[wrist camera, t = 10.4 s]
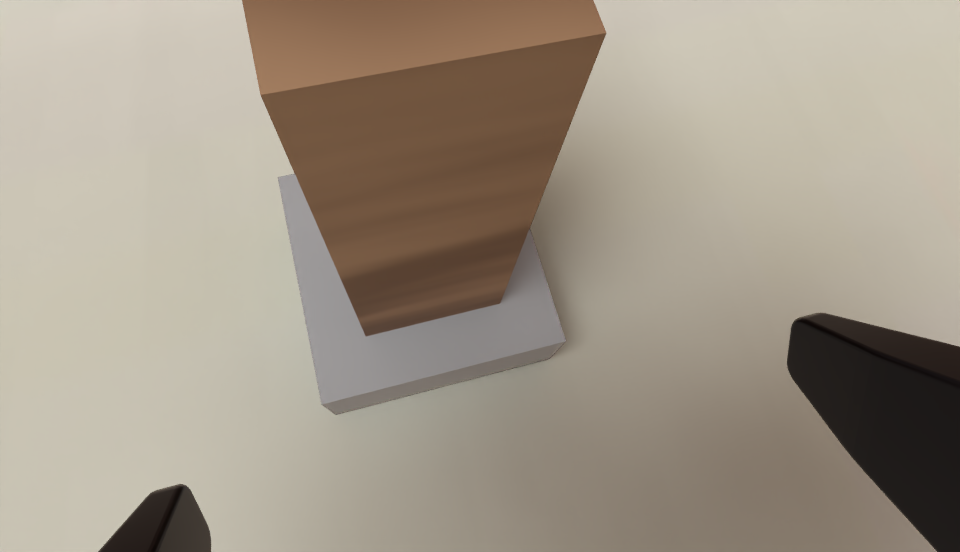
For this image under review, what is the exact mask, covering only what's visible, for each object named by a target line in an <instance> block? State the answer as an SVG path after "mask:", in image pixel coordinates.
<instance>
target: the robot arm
mask: <svg viewBox="0 0 960 552" xmlns="http://www.w3.org/2000/svg"><path fill="white" fill-rule="evenodd" d="M787 366H788V370H789V373H790V375H791V377H792V379H793V380H794V381H795V383H796V384H797V385H798V387H799V388H800V389H801V391H802V392H803V393H804V395H805V396H806V397H807V399H808V400H809V401H810V403H811V404H812V405H813V407H814V408H815V409H816V411H817V412H818V413H819V415H820V416H821V417H822V419H823V420H824V421H825V423H826V424H827V425H828V427H829V428H830V429H831V431H832V432H833V433H834V435H835V436H836V437H837V439H838V440H839V441H840V443H841V444H842V445H843V447H844V448H845V449H846V450H847V452H848V453H849V454H850V455H851V457H852V458H853V459H854V460H855V461H856V462H857V464H858V465H859V466H860V467H861V468H862V469H863V471H864V472H865V473H866V474H867V475H868V476H869V477H870V478H871V479H872V480H873V482H874V483H875V484H876V485H877V486H878V487H879V488H880V489H881V490H882V491H883V493H884V494H885V495H886V496H887V497H888V498H889V499H890V500H891V501H892V502H893V504H894V505H895V506H896V507H897V508H898V509H899V510H900V511H901V512H902V513H903V515H904V516H905V517H906V518H907V519H908V520H909V521H910V522H911V523H912V524H913V525H914V527H915V528H916V529H917V530H918V531H919V532H920V533H921V534H922V535H923V536H924V538H925V539H926V540H927V541H928V542H929V543H930V544H931V545H932V546H933V547H934V549H935V550H936V551H937V552H960V347H959V346H955V345H951V344H947V343H943V342H939V341H935V340H931V339H927V338H923V337H919V336H915V335H911V334H907V333H903V332H898V331H894V330H890V329H886V328H882V327H878V326H874V325H870V324H866V323H862V322H858V321H854V320H850V319H846V318H842V317H838V316H834V315H830V314H826V313H815V314H811V315H807V316H804V317H800V318H798V319H796V320H795V321H794V322H793V324H792V327H791V333H790V341H789V349H788V357H787ZM98 552H211V536H210V531H209V528H208V525H207V523H206V521H205V519H204V516H203V514H202V512H201V510H200V508H199V506H198V504H197V502H196V500H195V498H194V496H193V494H192V492H191V490H190V489H189V488H188V487H187V486H186V485H183V484H178V485H174V486H171V487H167V488H163V489H159V490H156V491H154V492H152V493H150V494H149V495H148V496H147V497H146V498H145V500H144V501H143V502H142V503H141V504H140V505H139V506H138V507H137V509H136V510H135V511H134V512H133V513H132V514H131V515H130V516H129V518H128V519H127V520H126V521H125V522H124V523H123V524H122V525H121V527H120V528H119V529H118V530H117V531H116V532H115V533H114V535H113V536H112V537H111V538H110V539H109V540H108V541H107V542H106V544H105V545H104V546H103V547H102V548H101V549H100V550H99V551H98Z"/></svg>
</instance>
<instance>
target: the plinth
mask: <svg viewBox="0 0 960 552" xmlns="http://www.w3.org/2000/svg"><path fill="white" fill-rule="evenodd" d="M278 181H279V186H280V192H281V197H282V202H283V207H284V212H285V217H286V223H287V228H288V233H289V238H290V243H291V248H292V254H293V259H294V264H295V269H296V274H297V279H298V284H299V290H300V295H301V300H302V305H303V310H304V315H305V321H306V326H307V331H308V336H309V341H310V346H311V352H312V357H313V362H314V367H315V372H316V377H317V383H318V388H319V393H320V398H321V403H322V405H323V406H324V407H326V408H327V409H329V410H330V411H331V412H333V413H334V414H335V415H337V414H341V413H344V412H348V411H352V410H356V409H360V408H363V407H367V406H371V405H375V404H379V403H382V402H386V401H390V400H394V399H398V398H402V397H405V396H409V395H413V394H417V393H421V392H424V391H428V390H432V389H436V388H440V387H443V386H447V385H451V384H455V383H459V382H462V381H466V380H470V379H474V378H478V377H482V376H485V375H489V374H493V373H497V372H501V371H504V370H508V369H512V368H516V367H520V366H523V365H527V364H531V363H535V362H539V361H542V360H546V359H549V358H550V357H551V356H552V355H553V354H554V353H555V352H556V351H557V350H558V349H559V348H560V347H561V346H562V345H563V344H564V343H565V342H566V339H565V336H564V333H563V330H562V327H561V324H560V321H559V318H558V314H557V311H556V308H555V305H554V302H553V299H552V296H551V293H550V289H549V286H548V283H547V280H546V277H545V274H544V271H543V268H542V264H541V261H540V258H539V255H538V252H537V249H536V246H535V242H534V239H533V236H532V233H531V230H530V229H529V231H528V234H527V236H526V239H525V241H524V244H523V246H522V249H521V252H520V254H519V257H518V259H517V262H516V264H515V267H514V269H513V272H512V274H511V277H510V280H509V282H508V285H507V287H506V290H505V292H504V295H503V297H502V300H501V302H500V304H496V305H492V306H488V307H484V308H480V309H476V310H472V311H468V312H464V313H460V314H456V315H452V316H448V317H443V318H439V319H435V320H431V321H427V322H423V323H419V324H415V325H411V326H407V327H403V328H399V329H395V330H391V331H387V332H383V333H378V334H374V335H370V336H365V334H364V331H363V329H362V327H361V325H360V322H359V320H358V318H357V315H356V313H355V311H354V308H353V306H352V304H351V302H350V299H349V297H348V295H347V292H346V290H345V288H344V285H343V283H342V281H341V279H340V276H339V274H338V272H337V269H336V267H335V265H334V263H333V260H332V258H331V256H330V253H329V251H328V249H327V246H326V244H325V242H324V240H323V237H322V235H321V233H320V230H319V228H318V226H317V223H316V221H315V219H314V217H313V214H312V212H311V210H310V207H309V205H308V203H307V200H306V198H305V196H304V194H303V191H302V189H301V187H300V184H299V182H298V180H297V177H296V175H295V174H291V175H286V176H281V177H278Z"/></svg>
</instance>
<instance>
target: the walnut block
mask: <svg viewBox="0 0 960 552" xmlns="http://www.w3.org/2000/svg"><path fill="white" fill-rule="evenodd" d="M242 2H243V7H244V12H245V17H246V22H247V28H248V33H249V38H250V43H251V48H252V53H253V58H254V63H255V69H256V74H257V79H258V84H259V89H260V94H261V97H262V99H263V102H264V104H265V106H266V108H267V111H268V113H269V115H270V118H271V120H272V122H273V125H274V127H275V129H276V131H277V134H278V136H279V138H280V141H281V143H282V145H283V148H284V150H285V152H286V154H287V157H288V159H289V161H290V164H291V166H292V168H293V171H294V173H295V175H296V177H297V180H298V182H299V184H300V187H301V189H302V191H303V194H304V196H305V198H306V200H307V203H308V205H309V207H310V210H311V212H312V214H313V217H314V219H315V221H316V223H317V226H318V228H319V230H320V233H321V235H322V237H323V240H324V242H325V244H326V246H327V249H328V251H329V253H330V256H331V258H332V260H333V263H334V265H335V267H336V269H337V272H338V274H339V276H340V279H341V281H342V283H343V285H344V288H345V290H346V292H347V295H348V297H349V299H350V302H351V304H352V306H353V308H354V311H355V313H356V315H357V318H358V320H359V322H360V325H361V327H362V329H363V331H364V334H365V336H370V335H374V334H378V333H383V332H387V331H391V330H395V329H399V328H403V327H407V326H411V325H415V324H419V323H423V322H427V321H431V320H435V319H439V318H443V317H448V316H452V315H456V314H460V313H464V312H468V311H472V310H476V309H480V308H484V307H488V306H492V305H496V304H500V302H501V300H502V297H503V295H504V292H505V290H506V287H507V285H508V282H509V280H510V277H511V274H512V272H513V269H514V267H515V264H516V262H517V259H518V257H519V254H520V252H521V249H522V246H523V244H524V241H525V239H526V236H527V234H528V231H529V229H530V226H531V224H532V221H533V218H534V216H535V213H536V211H537V208H538V206H539V203H540V201H541V198H542V195H543V193H544V190H545V188H546V185H547V183H548V180H549V178H550V175H551V173H552V170H553V167H554V165H555V162H556V160H557V157H558V155H559V152H560V150H561V147H562V145H563V142H564V139H565V137H566V134H567V132H568V129H569V127H570V124H571V122H572V119H573V117H574V114H575V111H576V109H577V106H578V104H579V101H580V99H581V96H582V94H583V91H584V88H585V86H586V83H587V81H588V78H589V76H590V73H591V71H592V68H593V66H594V63H595V60H596V58H597V55H598V53H599V50H600V48H601V45H602V43H603V40H604V38H605V35H606V31H605V28H604V26H603V23H602V21H601V18H600V16H599V13H598V11H597V8H596V6H595V4H594V1H593V0H242Z"/></svg>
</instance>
